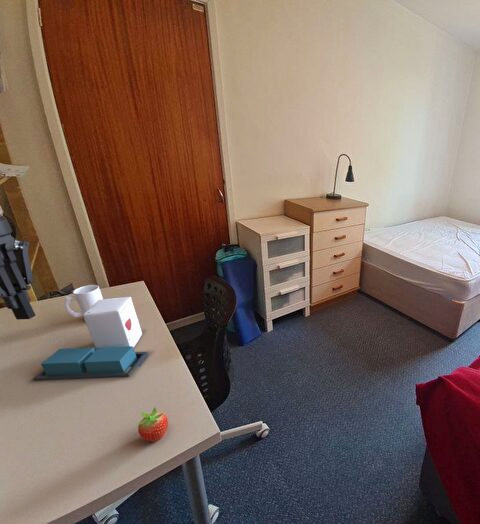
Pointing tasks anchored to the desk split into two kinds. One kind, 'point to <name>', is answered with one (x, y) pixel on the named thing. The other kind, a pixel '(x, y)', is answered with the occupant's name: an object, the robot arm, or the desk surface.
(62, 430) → the desk surface
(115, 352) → the loose blue pad
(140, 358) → the backing tray
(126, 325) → the rectangular carton
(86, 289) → the mug
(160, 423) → the fruit
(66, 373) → the seated pad
